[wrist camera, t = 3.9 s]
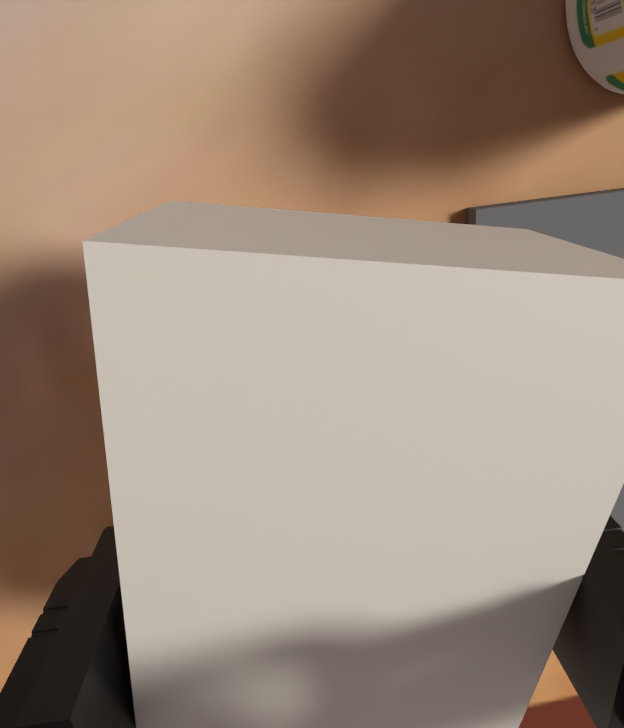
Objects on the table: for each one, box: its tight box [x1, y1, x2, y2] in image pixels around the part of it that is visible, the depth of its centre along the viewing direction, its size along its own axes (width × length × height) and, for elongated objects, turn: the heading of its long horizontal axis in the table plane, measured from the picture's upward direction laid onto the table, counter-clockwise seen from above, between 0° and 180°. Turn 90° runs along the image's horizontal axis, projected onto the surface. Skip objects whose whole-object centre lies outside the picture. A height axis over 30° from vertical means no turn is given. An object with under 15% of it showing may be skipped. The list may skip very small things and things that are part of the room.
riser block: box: [82, 201, 624, 728], centre depth 9 cm, size 6×12×4 cm, turn 175°
